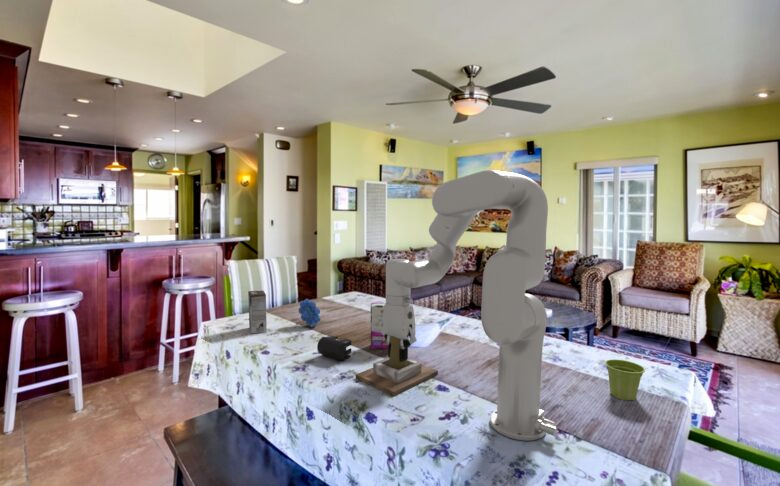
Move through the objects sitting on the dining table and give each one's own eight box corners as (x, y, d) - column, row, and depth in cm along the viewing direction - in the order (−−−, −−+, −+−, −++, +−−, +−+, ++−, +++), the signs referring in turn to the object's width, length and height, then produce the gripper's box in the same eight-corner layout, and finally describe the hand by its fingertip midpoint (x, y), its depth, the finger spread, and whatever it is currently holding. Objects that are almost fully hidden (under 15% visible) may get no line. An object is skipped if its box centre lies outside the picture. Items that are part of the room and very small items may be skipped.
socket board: (437, 374, 119) (438, 361, 119) (393, 396, 105) (393, 381, 105) (400, 360, 131) (400, 348, 130) (355, 378, 116) (355, 364, 116)
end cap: (316, 357, 133) (316, 338, 132) (330, 351, 139) (330, 333, 138) (339, 364, 127) (339, 344, 127) (352, 357, 133) (352, 338, 133)
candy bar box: (399, 344, 147) (400, 302, 145) (400, 349, 142) (401, 305, 140) (370, 344, 146) (370, 302, 145) (370, 349, 141) (370, 305, 140)
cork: (405, 373, 114) (406, 337, 113) (386, 371, 115) (386, 335, 114) (408, 365, 120) (409, 331, 119) (390, 363, 121) (390, 329, 120)
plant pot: (607, 385, 113) (608, 356, 112) (645, 395, 107) (647, 364, 106) (600, 396, 106) (601, 366, 105) (640, 408, 100) (642, 375, 99)
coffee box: (248, 327, 166) (247, 291, 165) (264, 326, 169) (263, 289, 168) (250, 333, 158) (249, 295, 157) (267, 331, 161) (266, 294, 159)
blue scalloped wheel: (292, 326, 168) (292, 299, 167) (302, 322, 174) (302, 296, 173) (314, 330, 163) (314, 302, 162) (323, 326, 169) (323, 299, 168)
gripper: (427, 302, 113) (426, 362, 114) (387, 293, 124) (387, 348, 126) (410, 306, 107) (410, 369, 109) (370, 297, 119) (370, 354, 120)
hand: (397, 357), depth 117 cm, fingers closed on cork, 4 cm apart
